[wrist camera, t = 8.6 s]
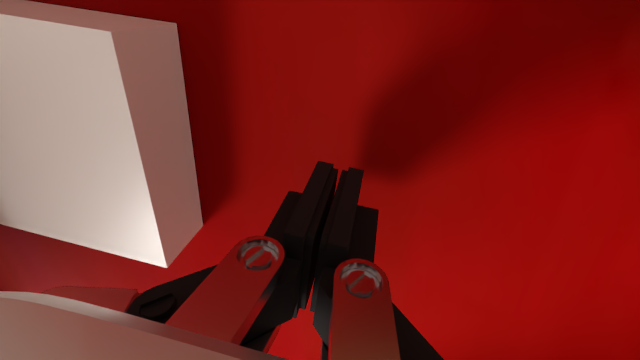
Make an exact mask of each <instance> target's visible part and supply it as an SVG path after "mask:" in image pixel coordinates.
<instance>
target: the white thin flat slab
mask: <svg viewBox="0 0 640 360" xmlns="http://www.w3.org/2000/svg"><path fill="white" fill-rule="evenodd" d="M0 224H2V225H6V226H9V227H13V228H17V229H21V230H24V231H28V232H32V233H36V234H40V235H43V236H47V237H51V238H55V239H59V240H62V241H66V242H70V243H74V244H78V245H81V246H85V247H89V248H93V249H96V250H100V251H104V252H108V253H112V254H115V255H119V256H123V257H127V258H131V259H134V260H138V261H142V262H146V263H149V264H153V265H157V266H161V267H165V268H168V267H169V265H170V264H171V263H172V262H173V261H174V259H175V258H176V257H177V256H178V255H179V253H180V252H181V251H182V250H183V249H184V248H185V246H186V245H187V244H188V243H189V242H190V240H191V239H192V238H193V237H194V236H195V235H196V233H197V232H198V231H199V230H200V229H201V227H202V226H203V221H202V214H201V206H200V199H199V191H198V183H197V176H196V168H195V160H194V153H193V145H192V138H191V130H190V122H189V115H188V107H187V100H186V92H185V84H184V77H183V69H182V61H181V54H180V46H179V39H178V31H177V23H171V22H165V21H158V20H152V19H145V18H138V17H132V16H125V15H119V14H112V13H106V12H99V11H93V10H86V9H80V8H73V7H67V6H60V5H54V4H47V3H41V2H34V1H28V0H0Z"/></svg>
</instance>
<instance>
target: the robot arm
mask: <svg viewBox="0 0 640 360" xmlns="http://www.w3.org/2000/svg"><path fill="white" fill-rule="evenodd" d="M363 173H364V170H360V169H355V168H350V167H349V170H348V171H345V170H342V173H341V176H340V179H339V183H338V186H337V189H336V192H335V187H336V181H337V174H338V169H335V168H333V164H330V163H325V162H320V161H318V163H317V165H316V167H315V169H314V171H313V173H312V175H311V177H310V179H309V181H308V183H307V185H306V187H305V190H304V192H303V193H298V192H293V191H289V192H288V194H287V195H286V197H285V199H284V201H283V203H282V204H281V206H280V208H279V210H278V212H277V213H276V215H275V217H274V219H273V221H272V222H271V224H270V226H269V228H268V230H267V231H266V233H265V235H264V236H252V237H248V238H246V239H244V240H241V241H240V242H239V243H238V244H236V245H235V246H234V247H233V249H232V250H231V251H230V252H229V253H228V254H227V255H226V256H225V257H224V259H223V260H222V261H221V262H220V263H219V264H218V265H215V266H212V267H209V268H207V269H204V270H201V271H198V272H195V273H193V274H190V275H187V276H184V277H181V278H178V279H176V280H173V281H170V282H167V283H164V284H161V285H159V286H156V287H153V288H151V289H149V290H147V291H145V292H143V293H138V291H137V289H124V288H101V287H78V286H62V287H55V288H52V289H49V290H46V291H44V292H42V293H32V292H15V291H0V360H288V359H284V358H281V357H277V356H274V355H270V354H267V353H268V351H269V349H270V347H271V345H272V343H273V342H274V340H275V338H276V336H277V334H278V332H279V329H280V326H281V324H282V323H284V322H286V321H288V320H290V319H292V317H293V318H296V317H297V313H298V310H299V308H302V309H305V308H306V305H307V302H308V299H309V295H310V292H311V288H312V285H313V282H314V286H313V293H312V301H311V308H310V311H313V312H315V313H314V320H313V325H314V327H315V329H316V330H317V332H318V333H319V335H320V337H321V338H322V341H321V350H320V360H444V359H443V358H442V357H441V356H440V355H439V354H438V353H437V352H436V350H435V349H434V348H433V347H432V346H431V345H430V344H429V343H428V342H427V340H426V339H425V338H424V337H423V336H422V335H421V334H420V333H419V332H418V330H417V329H416V328H415V327H414V326H413V325H412V324H411V323H410V321H409V320H408V319H407V318H406V317H405V316H404V315H403V314H402V313H401V311H400V310H399V309H398V308H397V307H396V306H395V305H394V304H393V303H392V300H391V293H390V286H389V281H388V278H387V276H386V274H385V273H384V272H383V270H382V269H381V268H380V267H378V266H377V265H376V264H374V254H375V243H376V232H377V221H378V210H377V209H373V208H368V207H363V206H359V205H357V203H358V198H359V193H360V188H361V183H362V178H363ZM334 193H335V195H334ZM314 278H315V279H314Z"/></svg>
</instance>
